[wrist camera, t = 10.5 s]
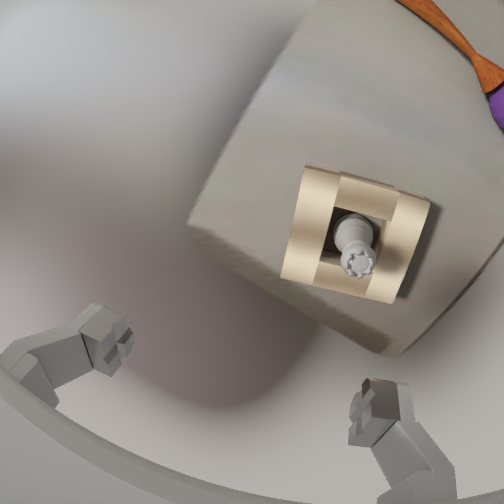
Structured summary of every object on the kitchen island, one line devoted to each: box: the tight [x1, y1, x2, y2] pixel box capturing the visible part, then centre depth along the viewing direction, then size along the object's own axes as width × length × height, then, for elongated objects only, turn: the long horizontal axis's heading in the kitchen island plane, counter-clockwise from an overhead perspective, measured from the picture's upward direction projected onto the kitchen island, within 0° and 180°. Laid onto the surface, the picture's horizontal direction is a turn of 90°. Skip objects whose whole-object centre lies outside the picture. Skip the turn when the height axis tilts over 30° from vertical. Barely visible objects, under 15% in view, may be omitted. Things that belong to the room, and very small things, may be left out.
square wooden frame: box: [280, 163, 431, 304], centre depth 30 cm, size 12×13×3 cm
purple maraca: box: [397, 0, 504, 129], centre depth 18 cm, size 6×6×20 cm
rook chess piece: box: [332, 214, 376, 279], centre depth 28 cm, size 4×4×8 cm
